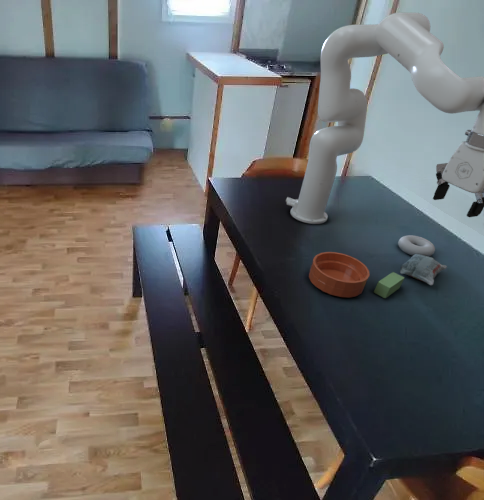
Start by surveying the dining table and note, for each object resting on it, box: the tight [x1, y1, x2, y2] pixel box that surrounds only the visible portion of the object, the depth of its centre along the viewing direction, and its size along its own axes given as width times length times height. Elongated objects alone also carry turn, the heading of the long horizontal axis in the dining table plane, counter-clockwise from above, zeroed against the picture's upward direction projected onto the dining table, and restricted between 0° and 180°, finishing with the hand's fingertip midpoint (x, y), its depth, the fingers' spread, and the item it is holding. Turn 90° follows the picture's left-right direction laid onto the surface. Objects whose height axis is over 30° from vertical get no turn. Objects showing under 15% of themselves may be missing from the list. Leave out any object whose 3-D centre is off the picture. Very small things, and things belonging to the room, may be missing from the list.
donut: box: [397, 234, 436, 257], centre depth 127 cm, size 10×4×10 cm
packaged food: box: [399, 254, 448, 286], centre depth 116 cm, size 9×12×5 cm
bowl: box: [308, 251, 371, 298], centre depth 111 cm, size 14×14×6 cm
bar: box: [373, 271, 405, 299], centre depth 110 cm, size 8×3×4 cm, turn 126°
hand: (454, 207), depth 103 cm, fingers open, 9 cm apart
